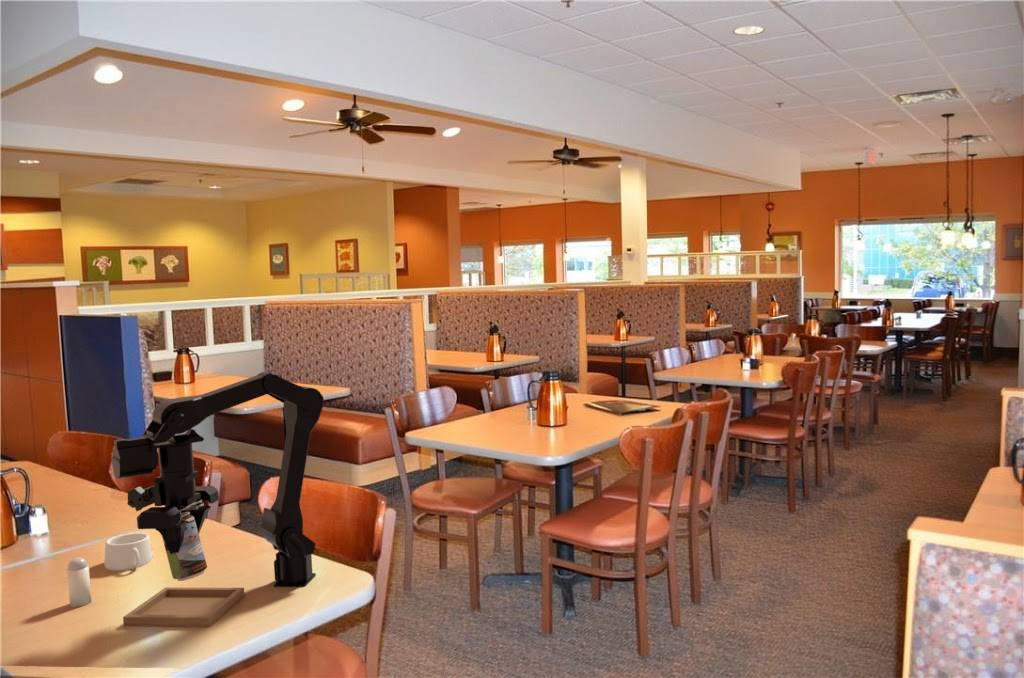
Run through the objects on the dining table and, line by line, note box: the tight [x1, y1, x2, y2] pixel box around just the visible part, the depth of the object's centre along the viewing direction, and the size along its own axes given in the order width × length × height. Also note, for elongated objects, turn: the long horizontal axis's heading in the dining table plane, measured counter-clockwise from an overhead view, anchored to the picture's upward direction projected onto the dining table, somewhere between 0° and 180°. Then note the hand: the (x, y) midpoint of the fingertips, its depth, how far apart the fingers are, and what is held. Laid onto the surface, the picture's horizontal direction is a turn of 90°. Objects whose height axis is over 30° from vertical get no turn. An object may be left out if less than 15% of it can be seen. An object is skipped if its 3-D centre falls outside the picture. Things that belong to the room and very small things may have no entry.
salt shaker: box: [67, 556, 92, 608], centre depth 154 cm, size 4×4×9 cm
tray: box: [122, 586, 246, 628], centre depth 149 cm, size 16×14×2 cm
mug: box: [103, 532, 154, 572], centre depth 175 cm, size 12×10×6 cm
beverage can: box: [161, 512, 208, 582], centre depth 148 cm, size 6×7×12 cm
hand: (183, 552), depth 148 cm, fingers closed on beverage can, 5 cm apart
